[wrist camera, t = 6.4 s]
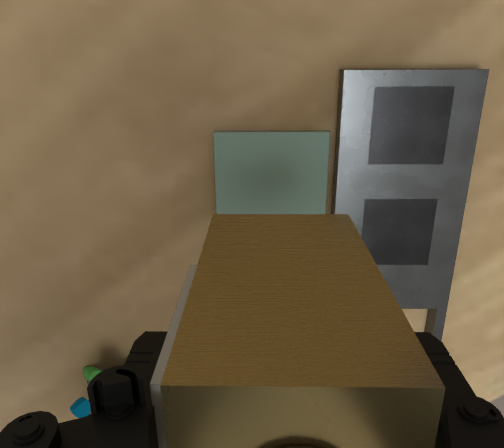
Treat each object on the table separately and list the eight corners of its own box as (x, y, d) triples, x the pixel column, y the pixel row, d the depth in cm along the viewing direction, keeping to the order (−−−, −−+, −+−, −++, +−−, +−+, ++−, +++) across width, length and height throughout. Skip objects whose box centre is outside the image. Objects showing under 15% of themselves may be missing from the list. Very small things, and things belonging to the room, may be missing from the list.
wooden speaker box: (217, 328, 20) (177, 579, 10) (213, 213, 18) (157, 392, 8) (339, 328, 20) (413, 583, 10) (348, 214, 18) (449, 395, 8)
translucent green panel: (217, 237, 33) (217, 239, 33) (214, 131, 30) (213, 132, 30) (323, 237, 33) (323, 239, 33) (329, 130, 30) (330, 131, 30)
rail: (320, 385, 38) (323, 399, 36) (340, 69, 29) (344, 70, 27) (424, 386, 38) (431, 400, 36) (477, 68, 29) (489, 69, 27)
